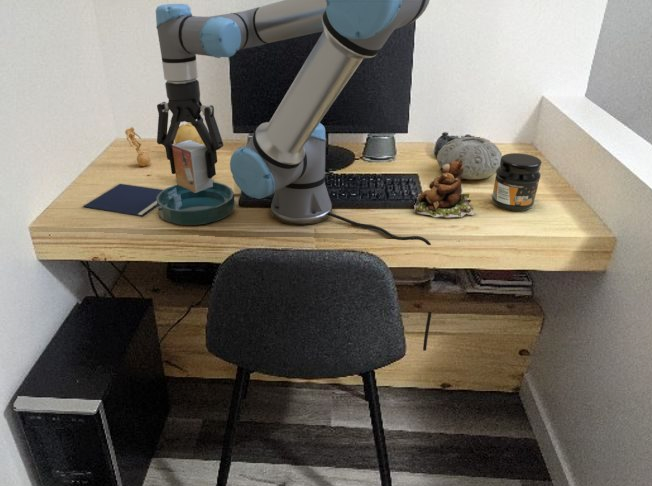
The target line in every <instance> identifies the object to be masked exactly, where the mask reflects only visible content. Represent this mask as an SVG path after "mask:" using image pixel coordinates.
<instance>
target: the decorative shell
mask: <svg viewBox="0 0 652 486" xmlns="http://www.w3.org/2000/svg"><path fill="white" fill-rule="evenodd" d="M437 152H438V153H437V155H436V162H437V164H438V166H439V167H440V168H441V167H442V166H443V165H445V164H449V163H451V162H453V161H456V160H457V159H459V160H460V161H462V162H463V165H462V166H463V168H464V169H463V172H462V174H461V175H460V178H461V180H464V179H465V180H482V179H487V178H491V176H493V175H496V170H497V169H498V167H500V160H501V157H502V156H503V153H502V151H500V148H499V147H498V146H497V145H496V143H494V142H492V141H491V140H489V139H486V138H484V137H481V136H479V137H478V136H477V137H475V136H473V137H472V136H468V135H467V136H461V137H458V138H457V137H455V138H454V139H452V140H449V141H448V142H446V143H445V144H443V145H442V146H441V147H440V150H438V151H437ZM460 161H459V162H460Z"/></svg>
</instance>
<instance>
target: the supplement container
mask: <svg viewBox="0 0 652 486" xmlns="http://www.w3.org/2000/svg"><path fill="white" fill-rule="evenodd" d="M541 167H542V160H541V158H539V157H537V156H534V155H531V154H528V153H520V152H511V153H506V154H502V157H501V160H500V167H498V169H497V170H496V173H495V179H494V184H493V189H492V194H491V201H492V203H493V204H494V205H495V206H497V207H498V208H501V209H503V210H507V211H511V212H513V211H514V212H522V211H527V210H530V209H531V208H533V206H534V204H535V202H536V196H537V193H538V188H539V187H538V186H539V184H540V183H539V182H540V180H541V177H542V174H541V172H540V170H541Z"/></svg>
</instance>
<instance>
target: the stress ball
mask: <svg viewBox="0 0 652 486" xmlns="http://www.w3.org/2000/svg"><path fill="white" fill-rule="evenodd" d="M187 140H192V141H194V142H196V143H199V144H202V145H205V144H204V143H203V141H202V139H201V137H200V136H199V134H198V132H197V130H196V129H195V127H194V126H192V124H191V123H188V122H187V123H182V124H180V125H179V128H178V131H177V134H176V137H175V140H174V142H175V143H174V144H177V143H180V142H184V141H187Z"/></svg>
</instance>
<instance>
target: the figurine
mask: <svg viewBox="0 0 652 486" xmlns="http://www.w3.org/2000/svg"><path fill="white" fill-rule="evenodd" d="M124 132H125V135H126V140H127V142H128V144H129V146H130V147H131V148H133V146H135V151H136V153H137V156H136V163H137V164H138V165H139V166H141V167H146V166H148V165H149V164H150V162H151V158H150V155H148V154H147V153H145V152H144V151H142V150H141V149H140V148H141V146H142V143H141V142H140V141H139V140H138V139H137V138H136V137H138V138H139V139H140V140H142V137H141V136H139V134H137V133H136V132H135V128H134V127H133V126H131V127H129V128H126V129H125V131H124Z"/></svg>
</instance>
